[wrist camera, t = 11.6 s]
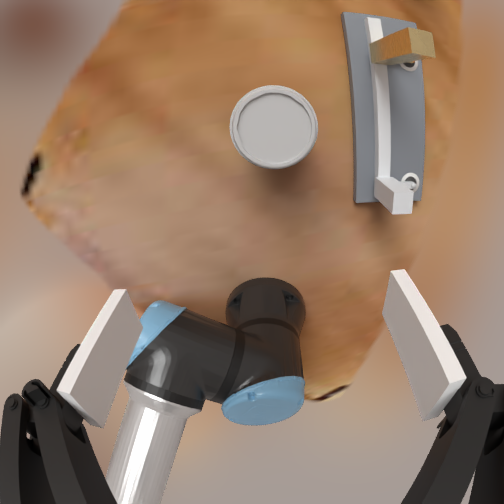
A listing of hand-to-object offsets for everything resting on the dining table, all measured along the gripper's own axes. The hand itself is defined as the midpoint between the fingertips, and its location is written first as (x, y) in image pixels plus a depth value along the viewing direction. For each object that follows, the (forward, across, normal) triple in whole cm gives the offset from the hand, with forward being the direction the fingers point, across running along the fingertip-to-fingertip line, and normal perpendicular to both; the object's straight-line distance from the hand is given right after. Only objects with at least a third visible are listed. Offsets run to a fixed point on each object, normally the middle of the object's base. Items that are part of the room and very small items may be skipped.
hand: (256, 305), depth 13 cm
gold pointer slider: (+30, -20, -16) cm, 39 cm away
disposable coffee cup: (+32, -2, -6) cm, 33 cm away
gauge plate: (+32, -20, -8) cm, 38 cm away
